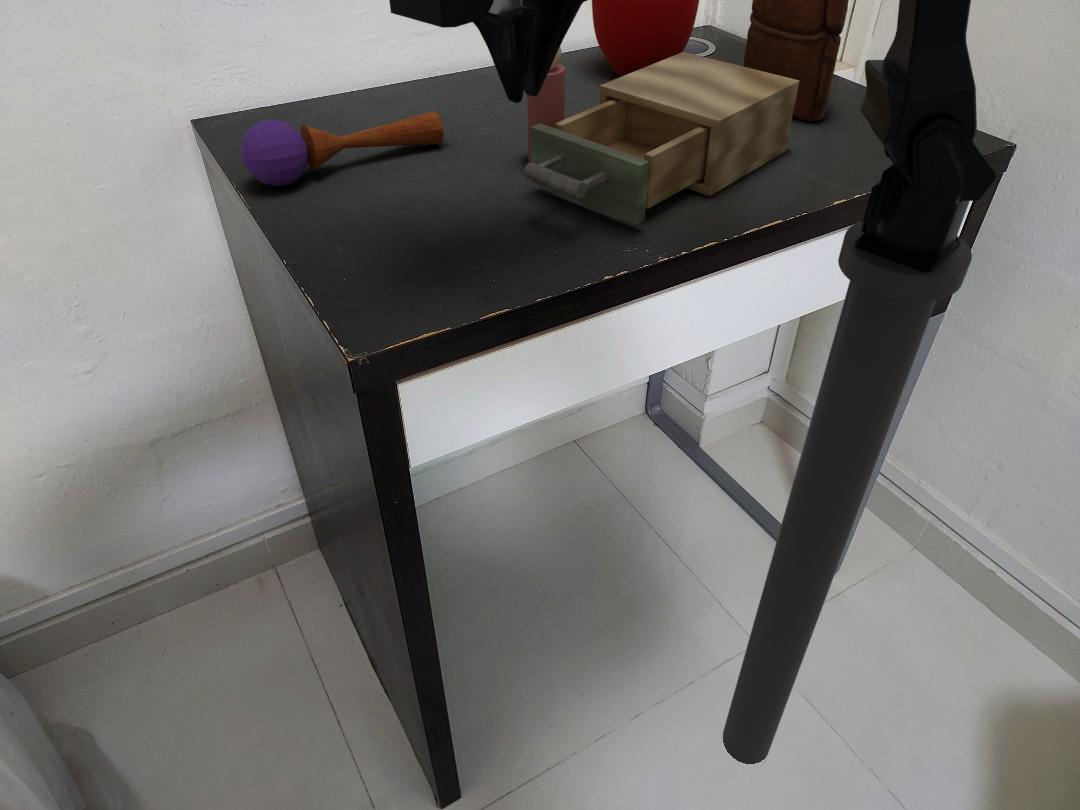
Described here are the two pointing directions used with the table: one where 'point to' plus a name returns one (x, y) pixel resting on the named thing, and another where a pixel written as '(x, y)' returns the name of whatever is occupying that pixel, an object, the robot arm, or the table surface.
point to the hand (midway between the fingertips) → (523, 98)
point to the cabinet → (717, 110)
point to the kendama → (324, 145)
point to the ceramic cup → (642, 30)
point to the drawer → (619, 157)
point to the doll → (548, 100)
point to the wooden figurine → (798, 47)
